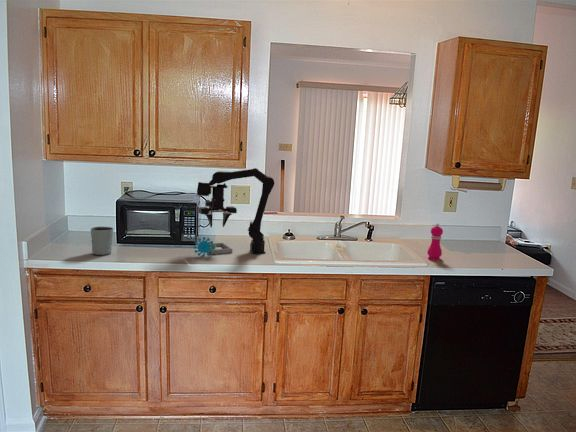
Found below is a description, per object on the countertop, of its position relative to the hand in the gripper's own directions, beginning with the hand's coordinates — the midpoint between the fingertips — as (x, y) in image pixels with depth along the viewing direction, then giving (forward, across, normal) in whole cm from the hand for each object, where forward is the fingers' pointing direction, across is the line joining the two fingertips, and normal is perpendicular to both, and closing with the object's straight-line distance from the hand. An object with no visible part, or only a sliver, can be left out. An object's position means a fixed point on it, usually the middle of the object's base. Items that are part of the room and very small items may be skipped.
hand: (217, 227), depth 245 cm
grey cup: (+13, +54, -13) cm, 57 cm away
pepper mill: (+14, -102, +49) cm, 114 cm away
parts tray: (+13, -1, -1) cm, 13 cm away
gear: (+14, +9, +9) cm, 18 cm away
